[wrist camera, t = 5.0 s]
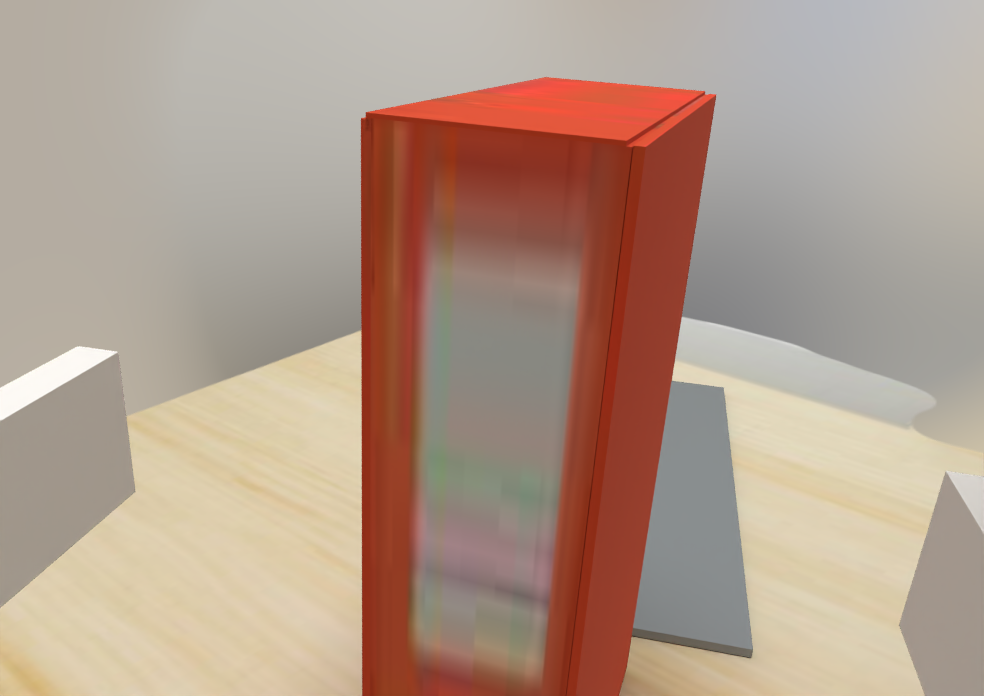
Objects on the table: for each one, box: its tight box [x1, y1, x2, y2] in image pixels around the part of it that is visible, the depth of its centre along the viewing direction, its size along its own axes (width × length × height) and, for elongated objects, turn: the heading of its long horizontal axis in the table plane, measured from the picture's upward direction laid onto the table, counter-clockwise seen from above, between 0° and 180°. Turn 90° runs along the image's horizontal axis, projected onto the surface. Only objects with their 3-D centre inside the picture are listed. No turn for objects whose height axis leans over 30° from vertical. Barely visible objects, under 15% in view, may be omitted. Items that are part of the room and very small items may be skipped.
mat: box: [632, 381, 753, 658], centre depth 68 cm, size 24×38×1 cm, turn 168°
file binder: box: [361, 77, 716, 696], centre depth 35 cm, size 8×17×32 cm, turn 160°
